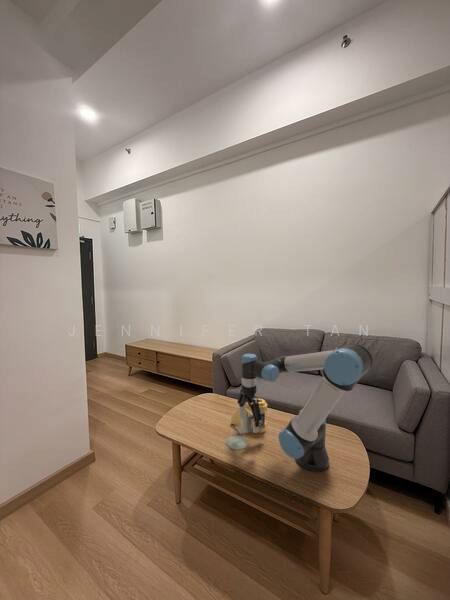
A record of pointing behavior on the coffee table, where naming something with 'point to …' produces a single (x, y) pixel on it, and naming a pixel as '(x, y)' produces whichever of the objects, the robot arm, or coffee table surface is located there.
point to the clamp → (236, 416)
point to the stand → (243, 422)
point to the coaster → (237, 442)
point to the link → (249, 428)
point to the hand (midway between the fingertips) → (248, 424)
